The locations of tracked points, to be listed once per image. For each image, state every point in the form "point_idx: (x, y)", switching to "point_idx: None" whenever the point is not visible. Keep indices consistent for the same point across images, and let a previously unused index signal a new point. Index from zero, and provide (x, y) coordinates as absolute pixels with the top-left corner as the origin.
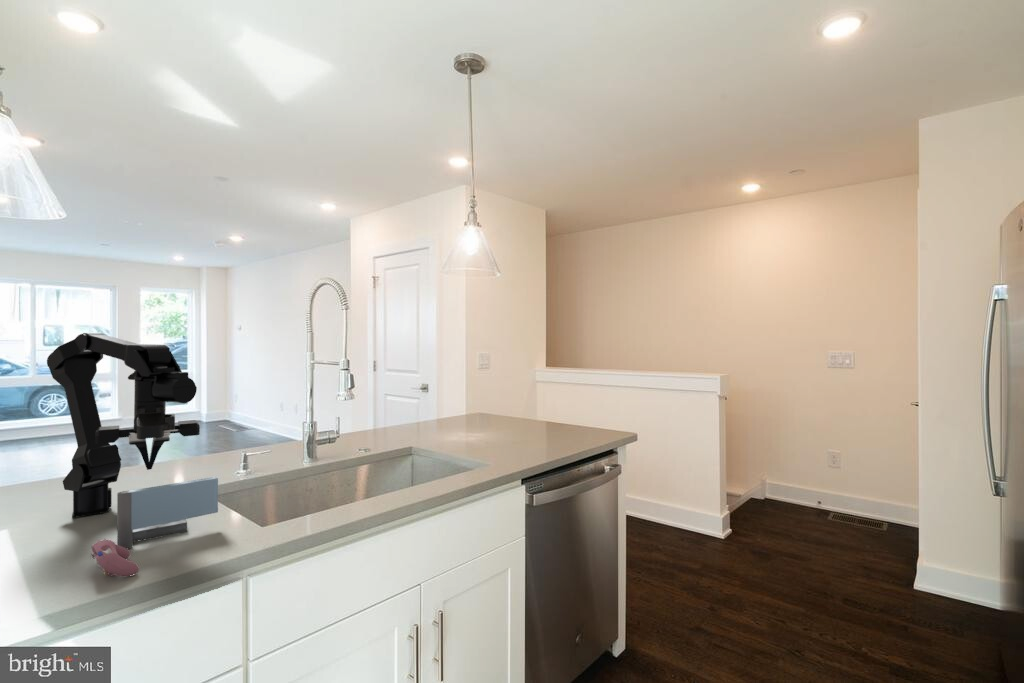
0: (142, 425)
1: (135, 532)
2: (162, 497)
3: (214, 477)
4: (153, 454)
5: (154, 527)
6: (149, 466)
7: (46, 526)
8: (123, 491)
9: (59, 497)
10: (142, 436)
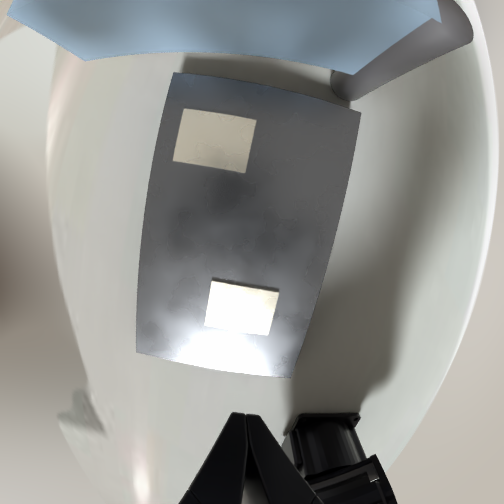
0: None
1: (326, 102)
2: None
3: (17, 2)
4: (220, 501)
5: (270, 94)
6: (246, 427)
7: (402, 391)
8: (456, 36)
9: None
10: None
